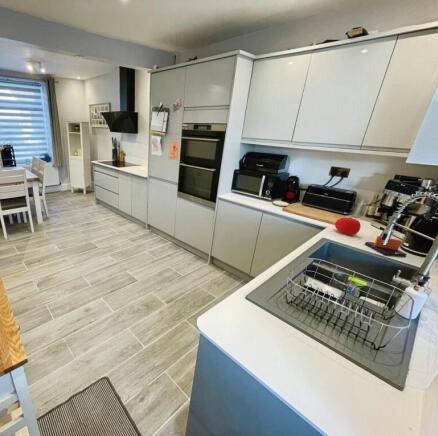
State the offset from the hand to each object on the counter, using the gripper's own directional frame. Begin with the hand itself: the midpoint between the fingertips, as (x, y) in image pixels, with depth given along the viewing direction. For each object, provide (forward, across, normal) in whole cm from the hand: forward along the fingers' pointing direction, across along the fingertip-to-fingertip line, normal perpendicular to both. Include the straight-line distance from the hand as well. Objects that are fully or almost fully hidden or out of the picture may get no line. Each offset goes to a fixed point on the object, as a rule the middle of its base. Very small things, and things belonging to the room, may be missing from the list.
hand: (427, 218), depth 133 cm
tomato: (+22, +16, -29) cm, 40 cm away
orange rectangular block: (+22, +10, -5) cm, 24 cm away
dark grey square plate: (+24, +9, -5) cm, 26 cm away
